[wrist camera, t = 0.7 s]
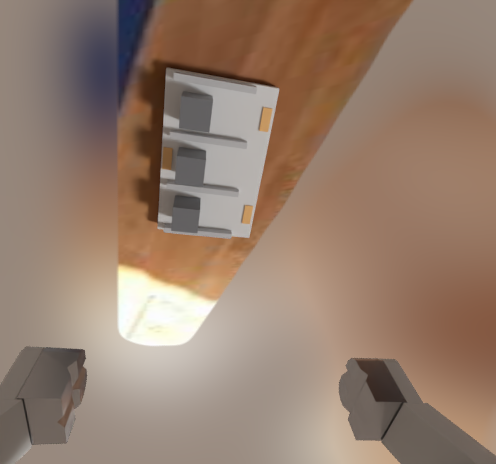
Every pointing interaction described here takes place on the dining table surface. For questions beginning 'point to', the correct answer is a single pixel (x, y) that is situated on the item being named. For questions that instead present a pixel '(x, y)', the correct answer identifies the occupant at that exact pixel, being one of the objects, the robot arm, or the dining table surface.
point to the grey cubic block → (190, 166)
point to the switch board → (218, 151)
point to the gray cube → (195, 111)
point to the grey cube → (185, 214)
